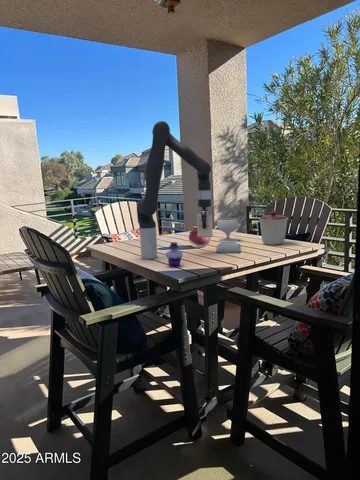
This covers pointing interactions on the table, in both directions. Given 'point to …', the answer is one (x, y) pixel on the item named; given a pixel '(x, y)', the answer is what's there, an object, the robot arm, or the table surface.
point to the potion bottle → (174, 255)
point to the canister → (273, 228)
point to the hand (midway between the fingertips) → (204, 227)
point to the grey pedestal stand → (228, 247)
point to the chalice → (227, 227)
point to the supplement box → (208, 230)
